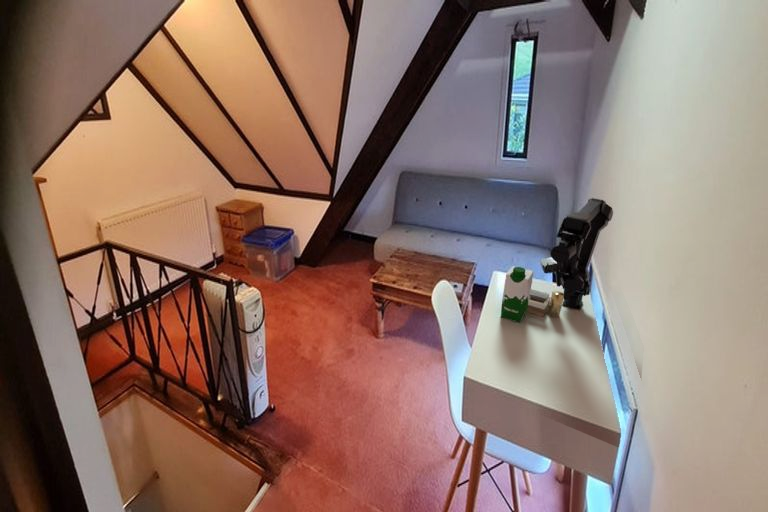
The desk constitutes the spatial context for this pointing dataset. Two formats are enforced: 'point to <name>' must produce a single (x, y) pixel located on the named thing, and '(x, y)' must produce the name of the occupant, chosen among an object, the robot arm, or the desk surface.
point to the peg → (555, 304)
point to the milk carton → (516, 293)
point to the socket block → (538, 302)
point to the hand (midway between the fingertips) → (561, 292)
